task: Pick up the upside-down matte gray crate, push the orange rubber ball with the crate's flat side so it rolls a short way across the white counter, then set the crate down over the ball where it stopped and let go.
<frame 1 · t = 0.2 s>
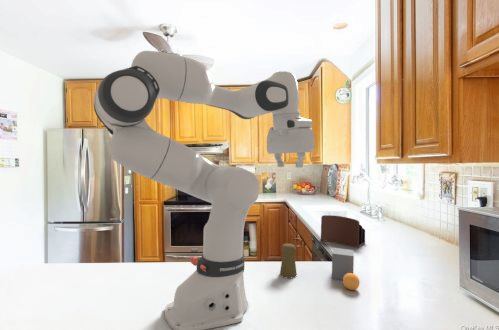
hand: (289, 167, 88), 39 cm above the counter, tool pointing down, fingers open, 8 cm apart
cork: (288, 275, 98), on the counter
matte gray crate: (342, 276, 97), on the counter
letter holder: (342, 242, 140), on the counter
ball: (351, 281, 87), on the counter
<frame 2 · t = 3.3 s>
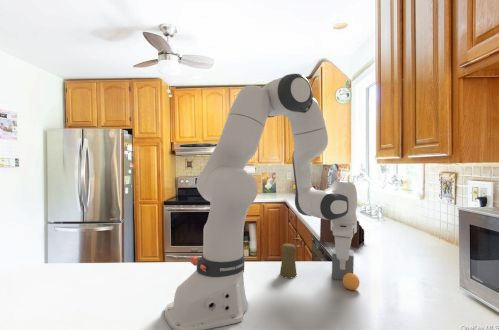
hand: (342, 264, 97), 4 cm above the counter, tool pointing down, fingers closed on matte gray crate, 7 cm apart
matte gray crate: (342, 276, 97), on the counter, touching gripper
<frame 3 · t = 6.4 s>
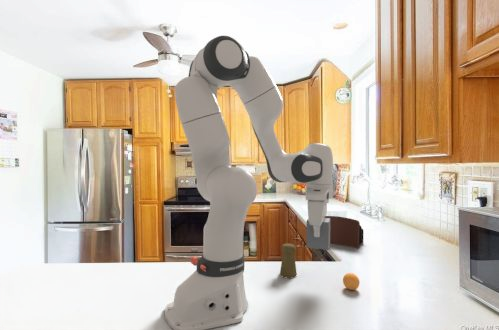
hand: (318, 233, 91), 17 cm above the counter, tool pointing down, fingers closed on matte gray crate, 7 cm apart
matte gray crate: (318, 245, 91), point 13 cm above the counter, touching gripper
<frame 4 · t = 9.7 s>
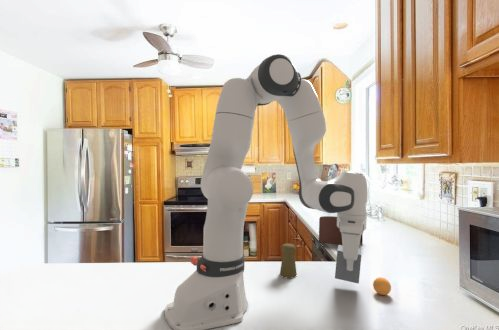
hand: (349, 265, 87), 8 cm above the counter, tool pointing down, fingers closed on matte gray crate, 7 cm apart
matte gray crate: (346, 276, 87), point 4 cm above the counter, touching gripper
ball: (381, 286, 84), on the counter
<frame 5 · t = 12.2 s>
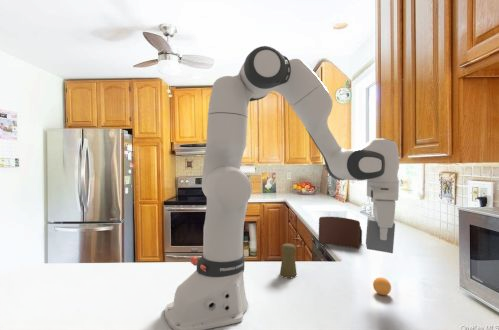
hand: (381, 236, 84), 18 cm above the counter, tool pointing down, fingers closed on matte gray crate, 7 cm apart
matte gray crate: (378, 247, 84), point 14 cm above the counter, touching gripper
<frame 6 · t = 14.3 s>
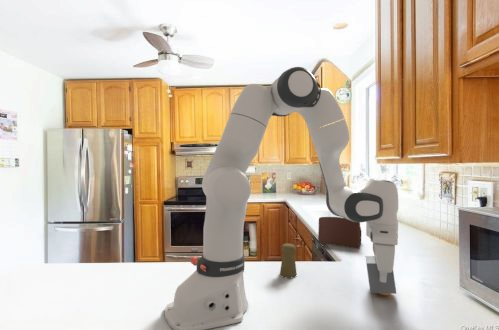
hand: (381, 275, 84), 6 cm above the counter, tool pointing down, fingers closed on matte gray crate, 7 cm apart
matte gray crate: (381, 288, 84), point 2 cm above the counter, tilted 8°, touching ball, gripper
ball: (384, 286, 84), on the counter, touching matte gray crate
when the fingers open (5 cm above the counter, at t = 15.1 s): matte gray crate stays where it is, on the counter.
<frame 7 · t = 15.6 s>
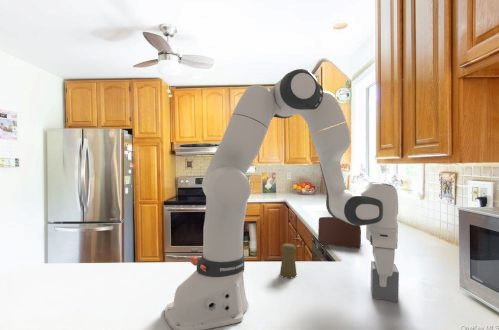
hand: (381, 279, 84), 5 cm above the counter, tool pointing down, fingers open, 8 cm apart
matte gray crate: (383, 294, 83), on the counter
ball: (384, 286, 83), on the counter
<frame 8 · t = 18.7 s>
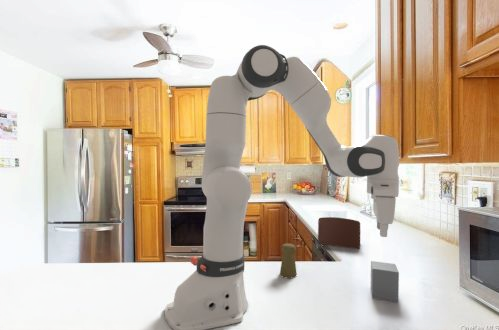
hand: (381, 232, 84), 19 cm above the counter, tool pointing down, fingers open, 8 cm apart
at the end: ball 0.3 cm from the matte gray crate (horizontally); matte gray crate on the counter; ball moved 9.7 cm from its start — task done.
